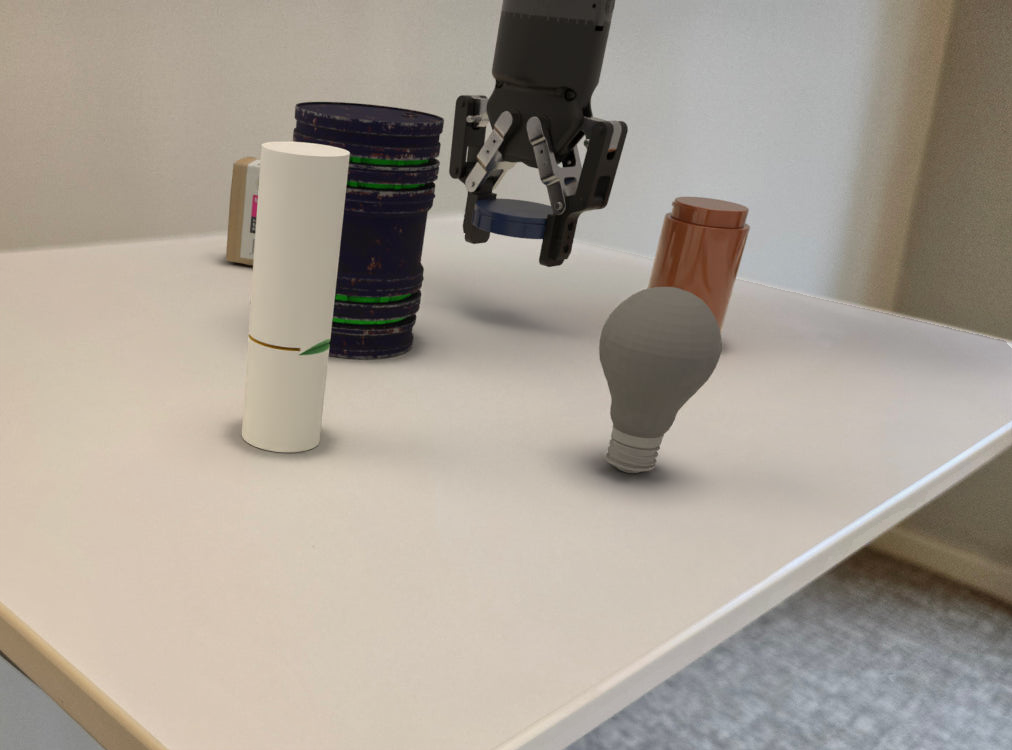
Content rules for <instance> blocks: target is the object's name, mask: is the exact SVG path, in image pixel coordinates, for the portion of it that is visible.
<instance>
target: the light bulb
mask: <svg viewBox="0 0 1012 750" xmlns="http://www.w3.org/2000/svg"><path fill="white" fill-rule="evenodd" d="M722 345H723V344H722V332H721V333H720V329H719V325H718V323H717V320H716V318H715V316H714V315H713V313H712V311H711V310H710V308H709V307H708V306H707V305H706V304H705V303H704V301H703V300H701V299H700V298H698V297H697V296H695V295H694V294H692V293H690V292H687V291H685V290H682V289H679V288H674V287H653V288H649V289H647V288H646V289H641V290H639V291H638V292H636V293H633V294H632V295H630V296H628V298H626V299H625V300H622V302H621V303H620V304H619V305H618V306H616V307H615V308H614V310H613V311H612V312H611V313H610V314H609V315H608V318H607V319H606V320H605V322H604V323H603V326H602V329H601V334H600V338H599V346H598V353H599V362H600V365H601V368H602V371H603V376H604V378H605V380H606V384H607V386H608V391H609V395H610V399H611V403H610V410H609V411H610V412H609V416H610V420H611V423H612V430H611V434H610V440H609V443H608V444H609V446H608V447H607V453H606V456H605V460H606V461H607V462H608V463H609V464H610V465H612V466H614V467H615V468H616V469H618V470H619V471H621V472H623V473H627V474H639V473H640V472H649V471H652V470H654V469H655V468H656V463H657V459H656V458H657V457H658V456H659V453H658V451H660V449H661V445H662V441H663V438H664V436H665V434H666V433H667V432H668V431H669V430H670V429H671V427H672V426H673V424H674V422H675V420H676V417H677V414H678V412H679V411H680V410H681V409H682V408H683V407H684V405H685V404H686V403H687V402H688V401H689V400H690V399H691V398H692V397H693V396H694V395H695V394H696V393H698V391H699V390H700V389H701V388H702V387H703V386H704V385H705V384H706V383H707V382H708V381H709V379H710V378H711V376H713V375H712V374H713V373H714V372H715V369H716V368H717V366H718V363H719V361H720V358H721V354H722V348H723V347H722Z"/></svg>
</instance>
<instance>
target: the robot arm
mask: <svg viewBox="0 0 1012 750" xmlns="http://www.w3.org/2000/svg"><path fill="white" fill-rule="evenodd" d="M615 4H616V0H502V3H501V10H500V18H499V23H498V29H497V36H496V41H495V48H494V53H493V54H494V55H493V61H492V66H491V74H492V75H491V76H492V77H493V78H494V80H495V84H494V88H493V89H492V93H491V94H490V96H489V97H488V96H486V95H484V94H483V95H481V94H479V95H478V94H477V95H476V94H474V95H473V94H471V95H470V94H466V95H465V94H462V95H459V96H458V97H457V98H456V100H455V106H454V117H453V127H452V136H451V148H450V158H449V168H448V174H449V176H450V177H451V179H453V180H459V181H460V182H461V183H462V184H464V186H465V189H466V191H467V197H466V202H465V209H464V214H463V220H462V232H463V234H464V241H465V242H466V243H469V244H473V245H478V244H486V243H487V242H488V241H489V239H490V236H491V232H487V231H484V230H482V229H479V228H477V227H476V226H474V225H473V223H472V217H473V211H474V208H475V203H476V201H478V200H482V199H495V198H496V199H497V198H498V194H497V193H495V192H493V191H495V190H496V189H497V187H498V186H499V184H500V183H501V182H502V180H503V178H504V177H505V176H506V174H507V172H508V171H510V170H512V168H514V167H515V166H516V165H517V164H518V163H522V164H524V166H527V167H529V168H534V169H537V171H538V174H539V179H540V181H541V183H542V184H543V185H544V186H545V187H546V190H547V195H548V199H549V205H550V206H551V209H552V211H553V214H548V215H547V221H546V226H545V231H544V236H543V239H542V242H541V247H540V252H539V257H538V263H539V265H541V266H544V267H547V268H552V267H560V266H561V265H563V263H564V262H565V260H568V259H569V257H570V255H571V254H572V250H573V244H574V239H575V236H576V231H577V226H578V221H579V218H580V216H581V215H582V214H583V213H585V212H589V211H590V212H591V211H595V210H603V209H605V208H606V207H607V205H608V203H609V199H610V196H611V193H612V189H613V185H614V182H615V178H616V175H617V172H618V168H619V164H620V161H621V156H622V153H623V149H624V147H625V142H626V139H627V135H628V131H629V128H628V124H627V123H626V122H625V121H623V120H606V119H603V118H599V117H595V116H594V114H593V111H592V96H593V94H594V92H595V90H596V88H597V87H598V85H599V83H600V79H601V73H602V69H603V64H604V59H605V55H606V49H607V44H608V40H609V35H610V30H611V25H612V18H613V14H614V10H615V7H616V6H615ZM488 124H490V127H491V130H492V131H491V133H490V134H489V135H488V137H487V139H486V132H487V125H488ZM584 137H585V139H584V140H583V138H584ZM581 140H583V146H584V147H585V149H586V152H585V154H584V155H585V156H584V159H583V164H582V161H581V157H580V153H579V148H578V144H579V143H580V141H581ZM560 164H561V167H560V166H559V165H560Z"/></svg>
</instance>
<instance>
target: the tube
mask: <svg viewBox="0 0 1012 750" xmlns="http://www.w3.org/2000/svg"><path fill="white" fill-rule="evenodd" d="M349 157H350V152H349V151H347V150H345V149H341V148H338V147H333V146H328V145H322V144H314V143H304V142H293V141H268V142H263V143H262V144H261V147H260V159H261V160H260V174H259V189H258V204H257V218H256V233H255V248H254V262H253V265H252V280H251V292H250V293H251V294H250V308H249V309H250V310H249V320H248V321H249V322H248V337H247V351H246V352H247V353H246V364H245V365H246V367H245V379H244V381H245V382H244V394H243V410H242V423H241V424H242V426H241V438H242V439H243V440H244V441H245V442H246V443H247V444H250V445H251V446H253V447H255V448H258V449H262V450H264V451H269V452H275V453H289V454H290V453H301V452H306V451H309V450H312V449H315V448H316V447H317V446H318V445H319V444H320V442H321V431H322V424H323V423H322V422H323V415H324V414H323V413H324V403H325V394H326V386H327V385H326V383H327V375H328V374H327V373H328V364H329V357H330V356H329V347H330V345H329V342H330V338H331V328H332V319H333V310H334V300H335V291H336V281H337V271H338V262H339V252H340V243H341V233H342V224H343V214H344V204H345V195H346V185H347V176H348V166H349Z"/></svg>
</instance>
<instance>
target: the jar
mask: <svg viewBox="0 0 1012 750" xmlns="http://www.w3.org/2000/svg"><path fill="white" fill-rule="evenodd" d="M671 206H672V208H671V211H670V212H667V213H665V214H664V218H663V221H662V222H663V223H662V225H661V231H660V235H659V238H658V244H657V246H656V250H655V255H654V260H653V262H652V263H653V264H652V268H651V271H650V276H649V281H648V283H647V288H646V289H649V288H653V287H674V288H679V289H682V290H685V291H687V292H690V293H692V294H694V295H695V296H697V297H698V298H700V299H701V300H703V301H704V303H705V304H706V305H707V306H708V307H709V308H710V310H711V311H712V313H713V315H714V316H715V318H716V320H717V323H718V325H719V329H720V333H721V334H722V331H723V326H724V323H725V320H726V316H727V312H728V309H729V305H730V301H731V297H732V295H733V290H734V287H735V285H736V283H735V282H736V280H737V276H738V272H739V269H740V266H741V262H742V258H743V254H744V251H745V247H746V244H747V241H748V237H749V234H750V230H751V226H750V225H749V224H748V223H746V222H747V218H748V214H749V211H750V208H749V207H748V206H746V205H743V204H740V203H737V202H732V201H729V200H723V199H717V198H710V197H703V196H702V197H701V196H678V197H675V198H674V200H673V201H672V202H671Z"/></svg>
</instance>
